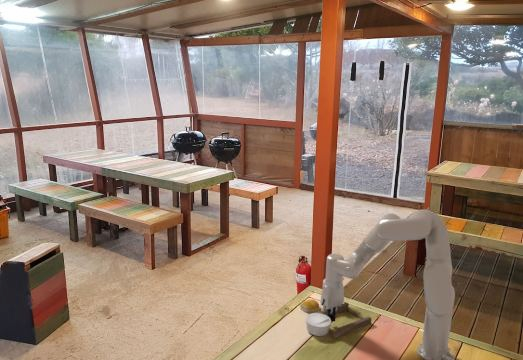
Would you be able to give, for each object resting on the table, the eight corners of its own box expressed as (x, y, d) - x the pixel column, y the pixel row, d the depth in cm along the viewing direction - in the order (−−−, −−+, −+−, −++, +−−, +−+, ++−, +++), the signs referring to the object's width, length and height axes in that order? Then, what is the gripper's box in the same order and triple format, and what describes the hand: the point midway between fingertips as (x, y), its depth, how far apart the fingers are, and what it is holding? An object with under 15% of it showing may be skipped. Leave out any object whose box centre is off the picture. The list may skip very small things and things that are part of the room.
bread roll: (322, 309, 204) (322, 301, 203) (308, 314, 199) (309, 307, 198) (310, 302, 210) (310, 294, 210) (296, 307, 205) (297, 299, 204)
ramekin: (328, 340, 179) (328, 328, 178) (302, 334, 182) (302, 323, 181) (332, 326, 189) (333, 315, 188) (308, 321, 193) (308, 310, 192)
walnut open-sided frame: (370, 323, 192) (371, 317, 191) (334, 338, 180) (334, 331, 180) (346, 308, 205) (346, 302, 204) (310, 320, 193) (310, 314, 193)
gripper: (340, 275, 192) (338, 312, 196) (315, 282, 184) (313, 320, 188) (352, 281, 186) (349, 319, 190) (326, 289, 178) (324, 329, 182)
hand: (331, 320), depth 189 cm, fingers closed
